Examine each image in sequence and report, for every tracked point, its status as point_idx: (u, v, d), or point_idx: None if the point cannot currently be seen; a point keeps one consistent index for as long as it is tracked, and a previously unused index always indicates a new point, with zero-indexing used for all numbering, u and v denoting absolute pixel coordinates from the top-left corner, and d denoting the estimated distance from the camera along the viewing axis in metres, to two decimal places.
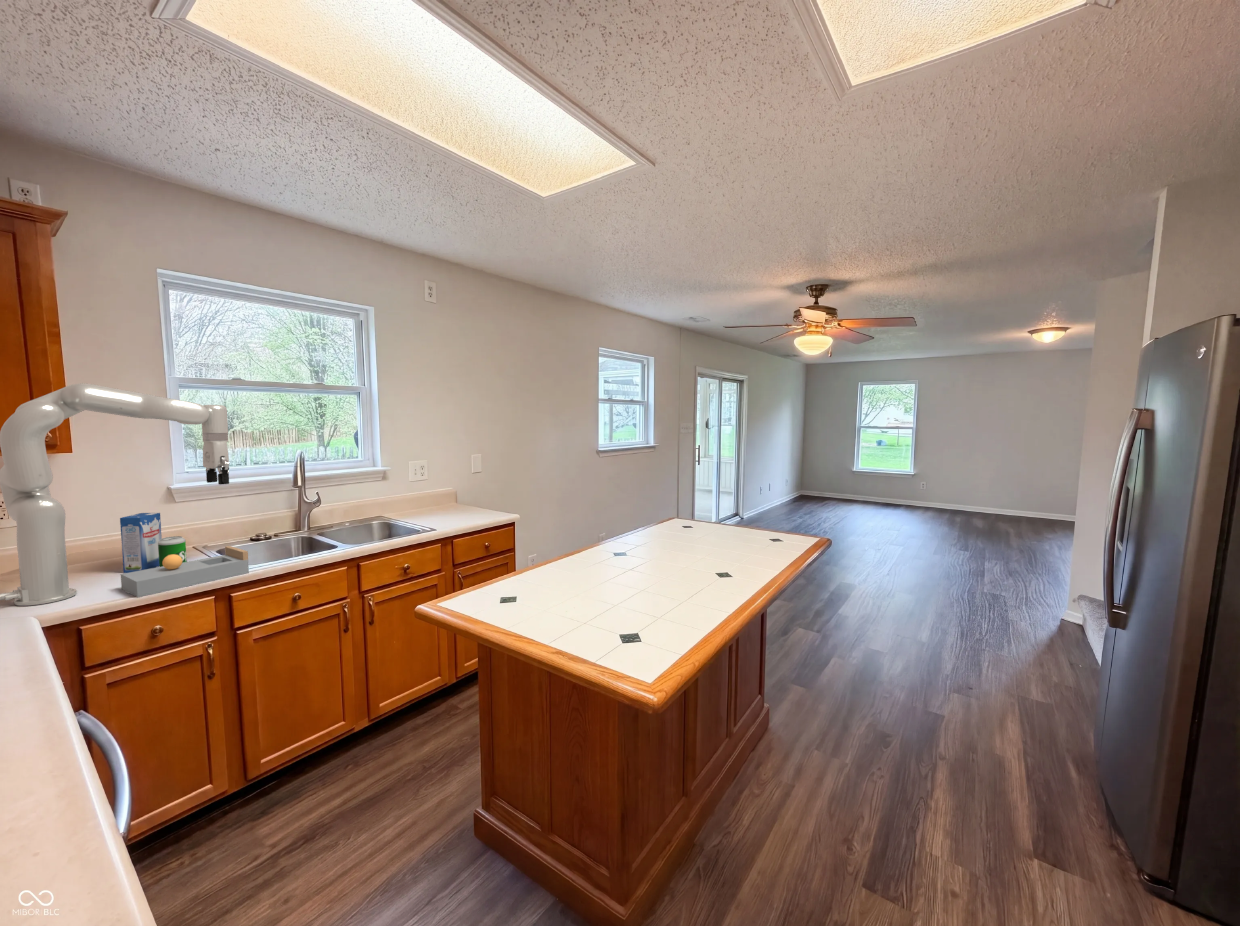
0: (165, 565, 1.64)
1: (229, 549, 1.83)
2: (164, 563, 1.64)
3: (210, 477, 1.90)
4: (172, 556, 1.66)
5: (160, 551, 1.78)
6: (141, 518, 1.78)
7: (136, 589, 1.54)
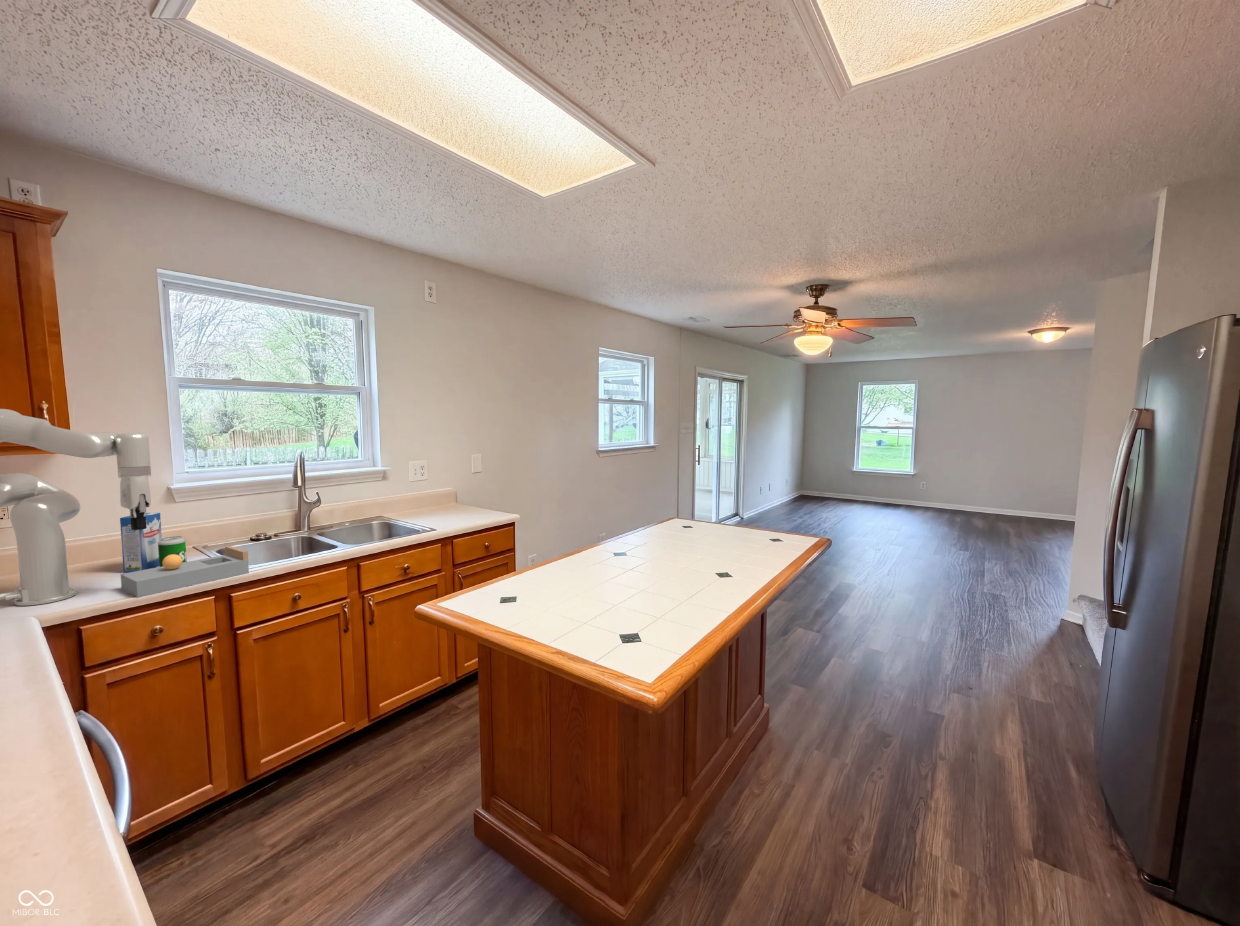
0: (165, 565, 1.64)
1: (229, 549, 1.83)
2: (164, 563, 1.64)
3: None
4: (172, 556, 1.66)
5: (160, 551, 1.78)
6: None
7: (136, 589, 1.54)
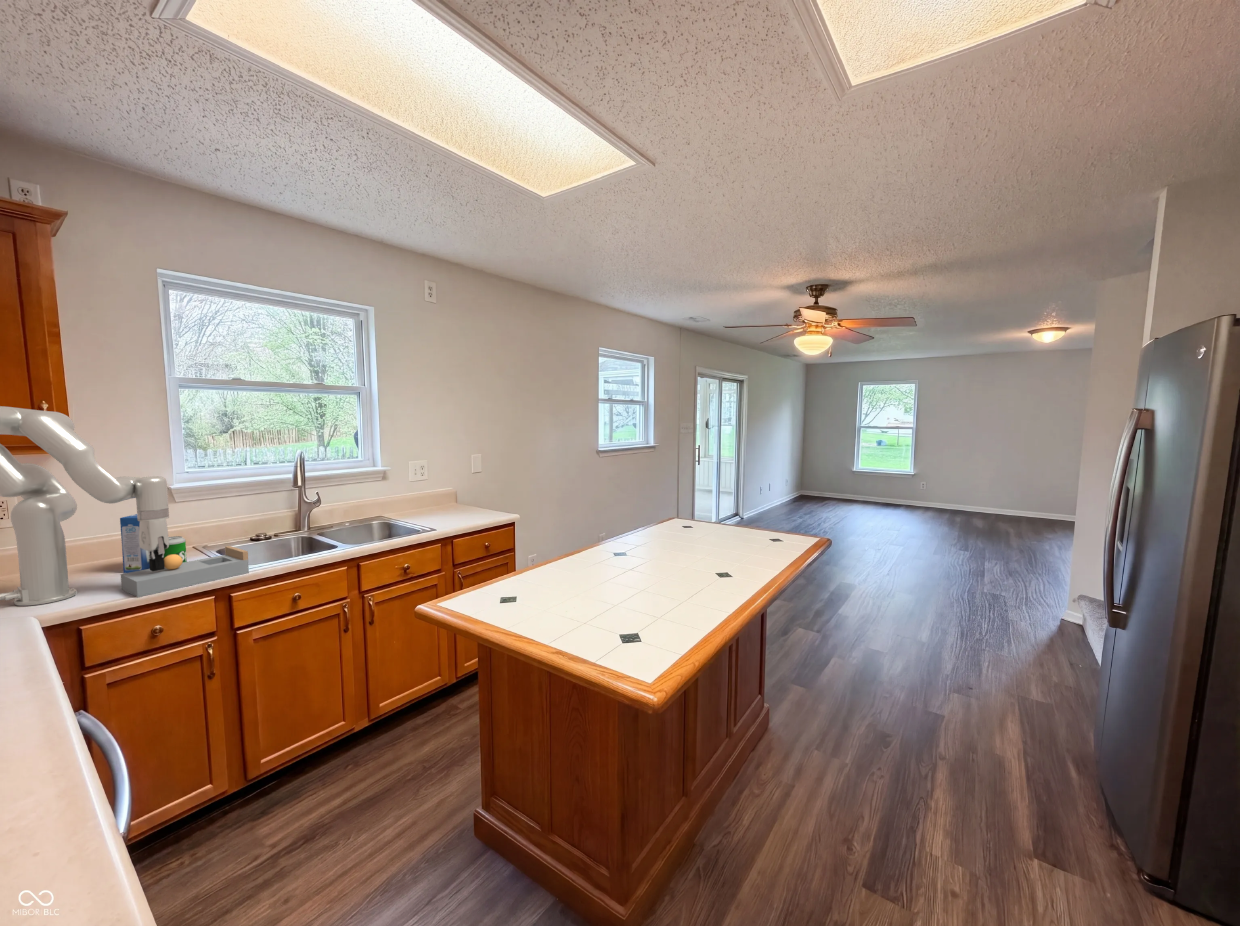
0: (165, 565, 1.64)
1: (229, 549, 1.83)
2: (164, 563, 1.64)
3: None
4: (172, 556, 1.66)
5: None
6: None
7: (136, 589, 1.54)
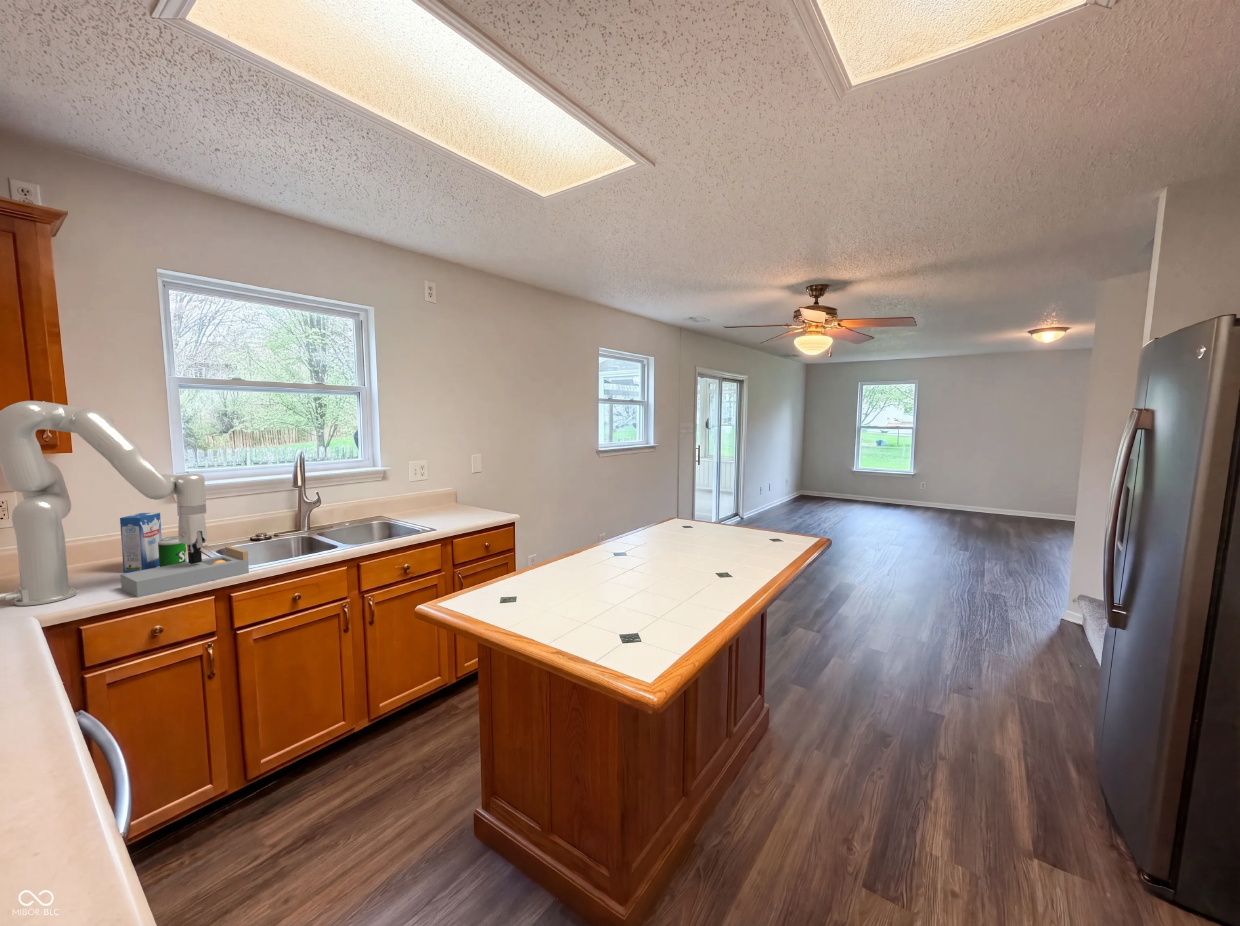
0: None
1: (229, 549, 1.83)
2: None
3: None
4: (218, 562, 1.77)
5: (160, 551, 1.78)
6: (141, 518, 1.78)
7: (136, 589, 1.54)
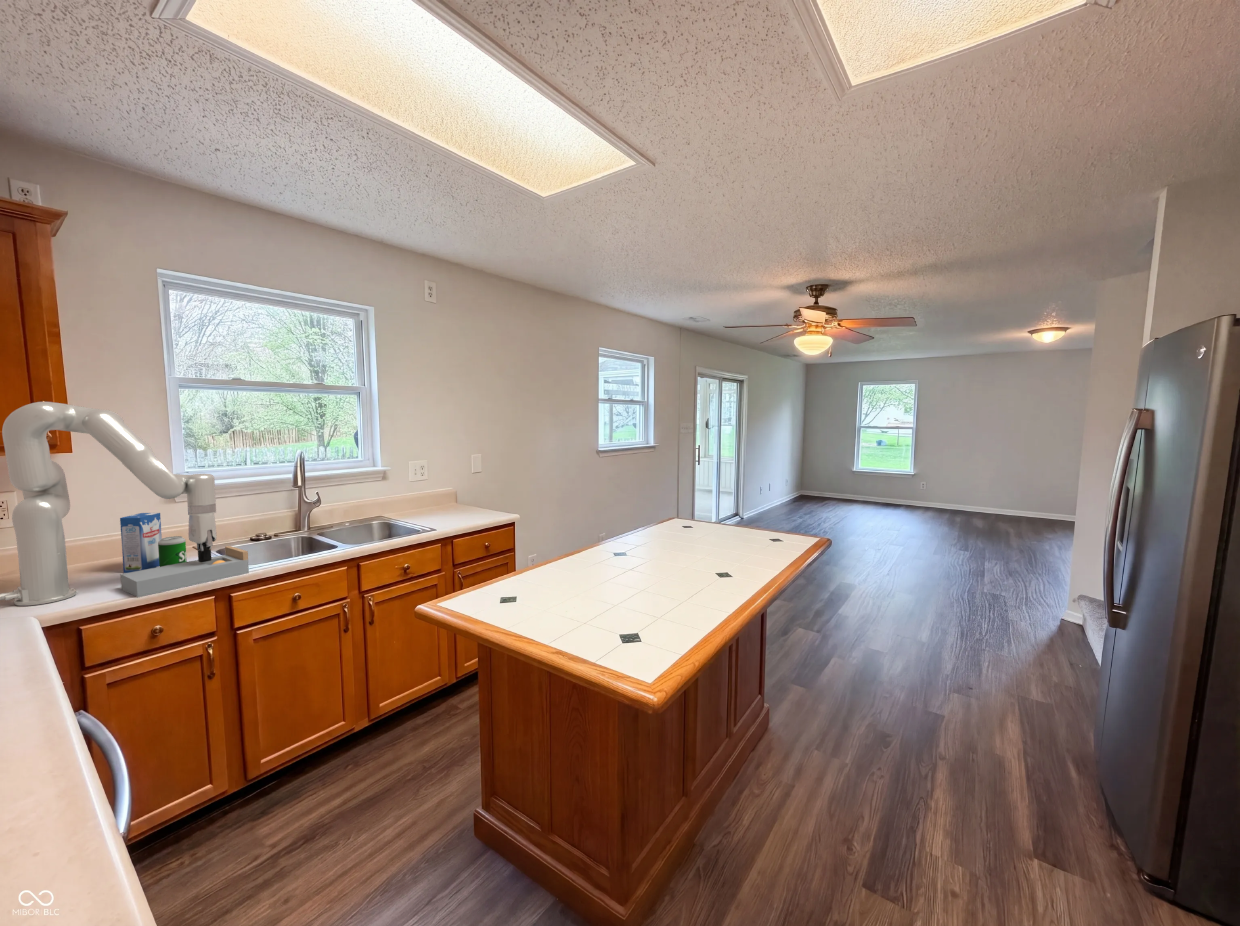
0: None
1: (229, 549, 1.83)
2: None
3: None
4: None
5: (160, 551, 1.78)
6: (141, 518, 1.78)
7: (136, 589, 1.54)
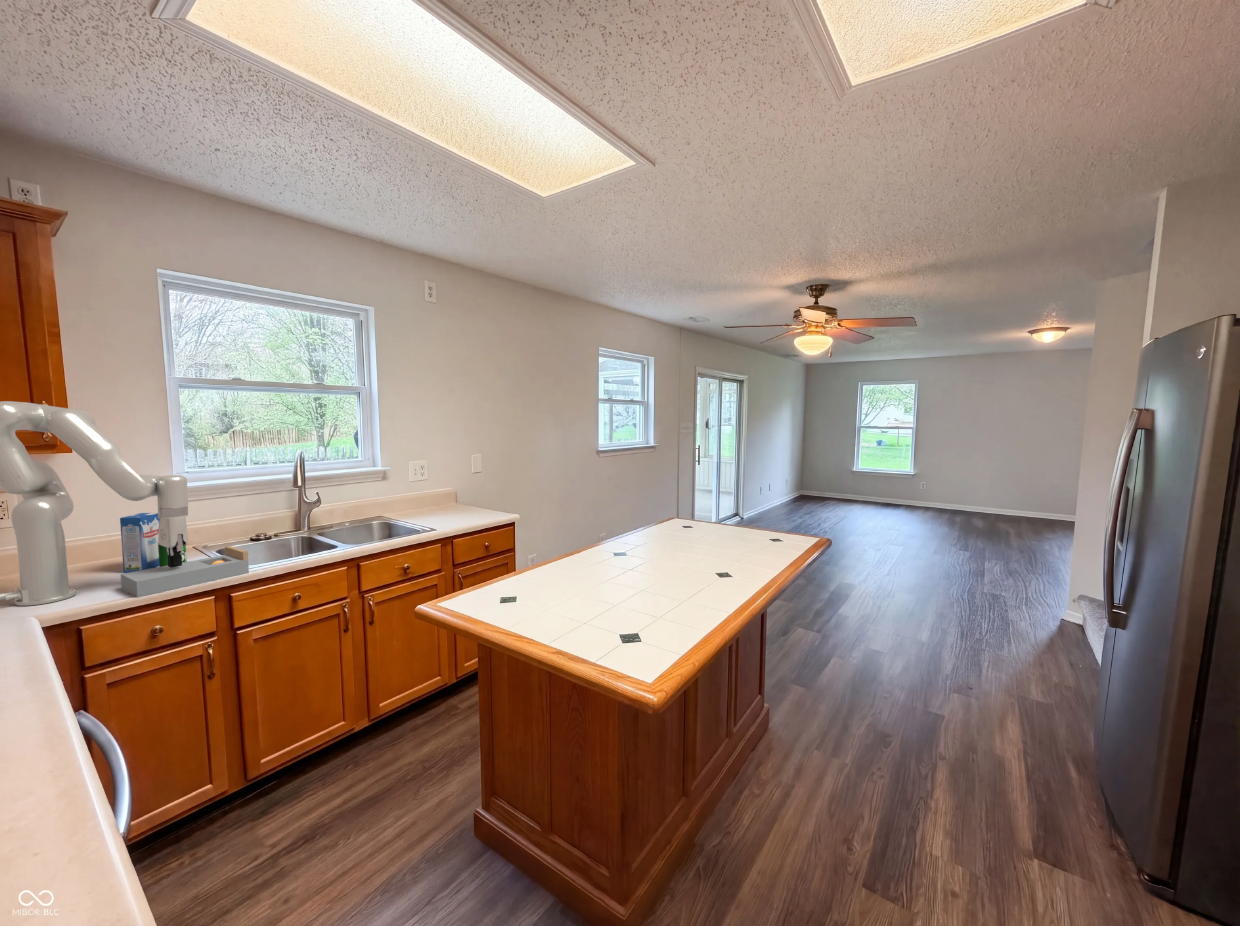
0: None
1: (229, 549, 1.83)
2: None
3: None
4: (216, 563, 1.76)
5: (160, 551, 1.78)
6: (141, 518, 1.78)
7: (136, 589, 1.54)
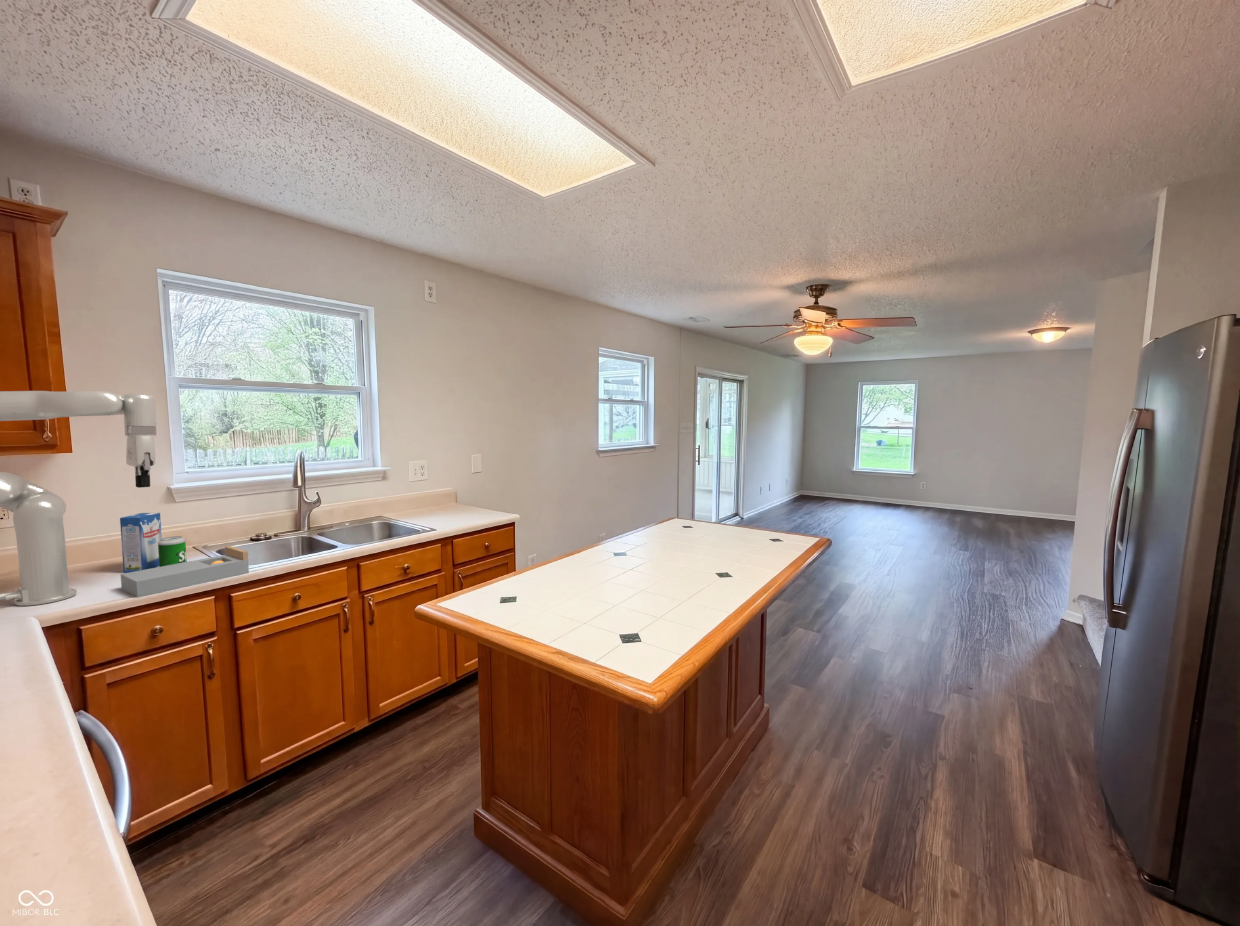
0: None
1: (229, 549, 1.83)
2: None
3: None
4: None
5: (160, 551, 1.78)
6: (141, 518, 1.78)
7: (136, 589, 1.54)
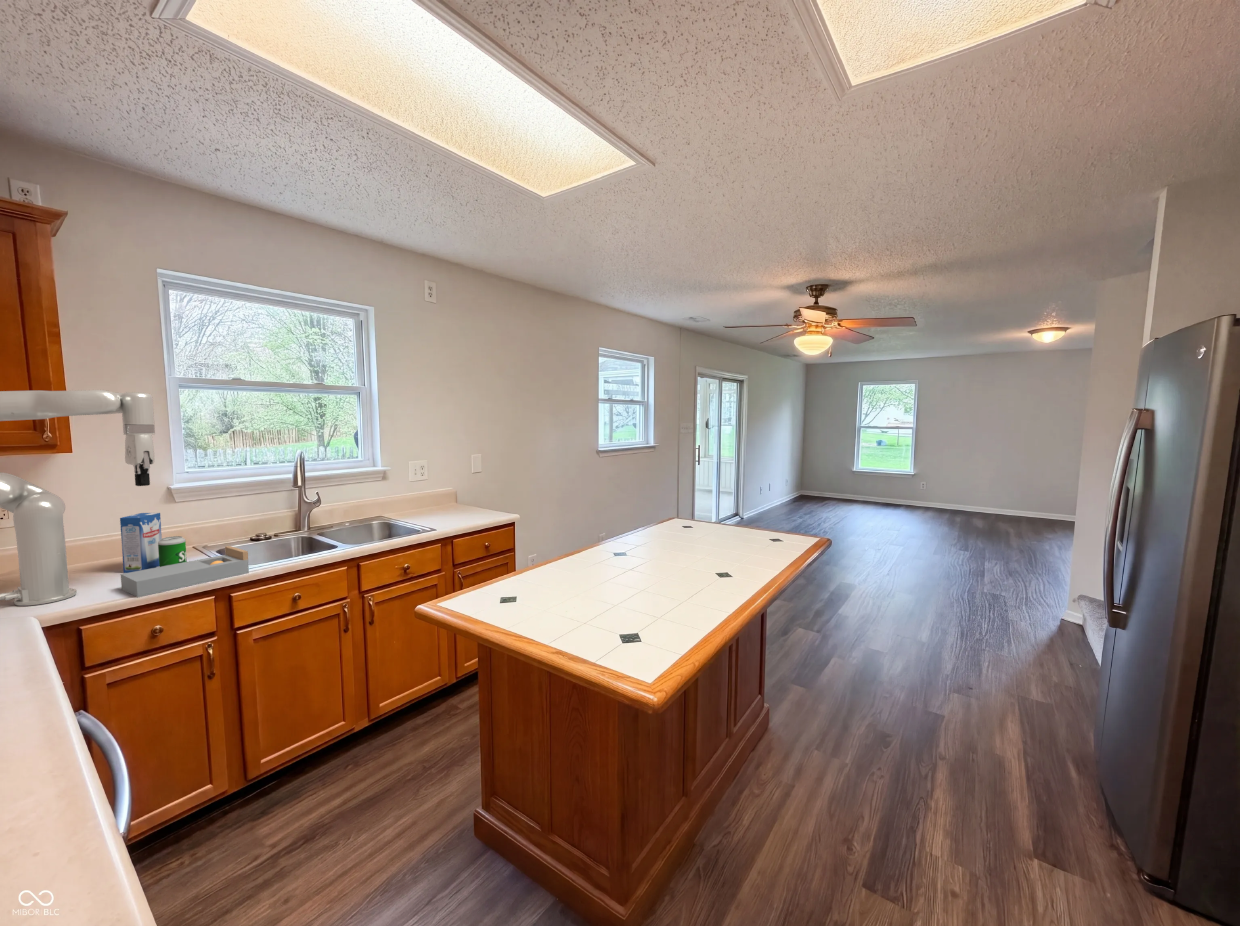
0: None
1: (229, 549, 1.83)
2: None
3: None
4: None
5: (160, 551, 1.78)
6: (141, 518, 1.78)
7: (136, 589, 1.54)
